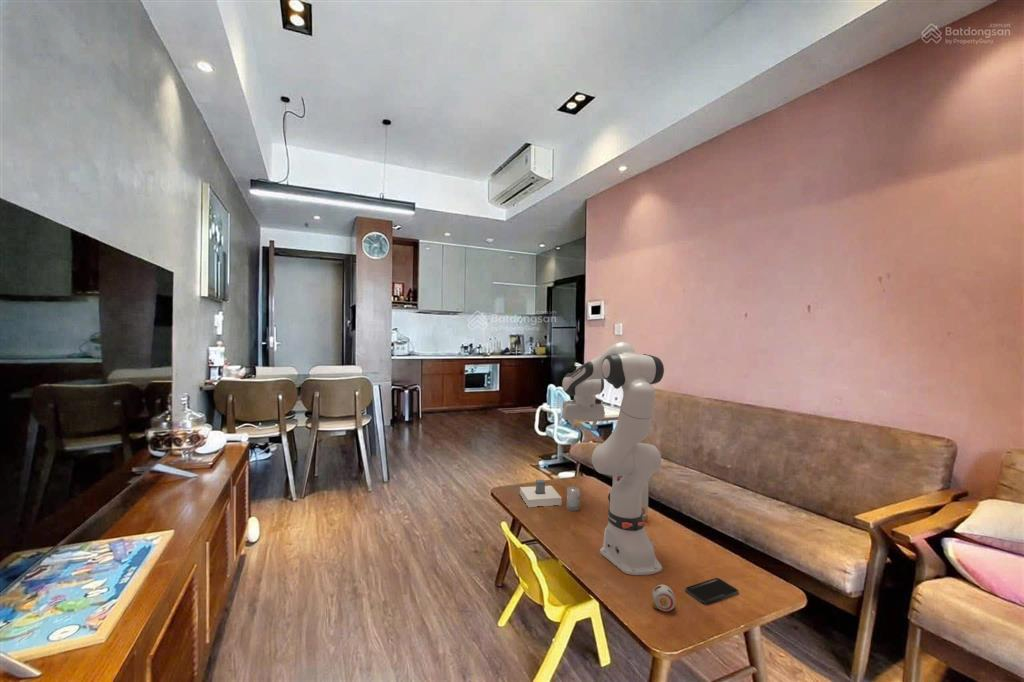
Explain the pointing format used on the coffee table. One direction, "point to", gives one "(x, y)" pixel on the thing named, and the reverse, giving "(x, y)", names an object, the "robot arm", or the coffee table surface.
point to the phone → (711, 591)
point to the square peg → (540, 486)
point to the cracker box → (644, 497)
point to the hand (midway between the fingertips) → (583, 429)
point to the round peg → (573, 498)
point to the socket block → (540, 497)
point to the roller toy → (663, 598)
